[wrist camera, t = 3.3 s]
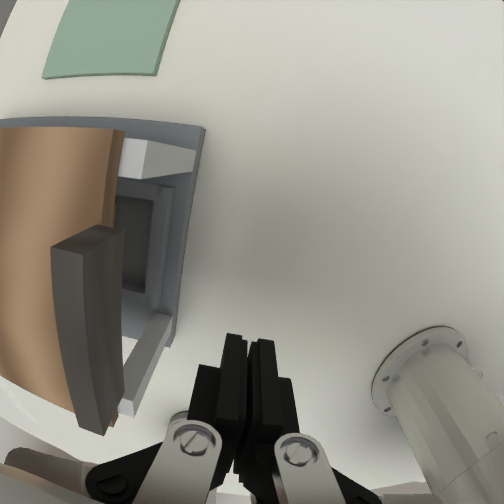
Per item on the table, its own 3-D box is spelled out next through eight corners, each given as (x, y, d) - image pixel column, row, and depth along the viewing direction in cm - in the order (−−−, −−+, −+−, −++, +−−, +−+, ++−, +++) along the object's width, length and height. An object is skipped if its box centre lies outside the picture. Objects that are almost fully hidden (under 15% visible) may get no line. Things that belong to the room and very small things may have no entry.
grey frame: (205, 129, 21) (157, 95, 9) (175, 335, 26) (135, 434, 15) (6, 120, 20) (-80, 120, 8) (3, 282, 25) (-65, 328, 13)
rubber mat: (187, -18, 17) (185, -22, 16) (155, 76, 20) (152, 73, 19) (77, -6, 16) (73, -9, 15) (46, 79, 19) (41, 78, 18)
